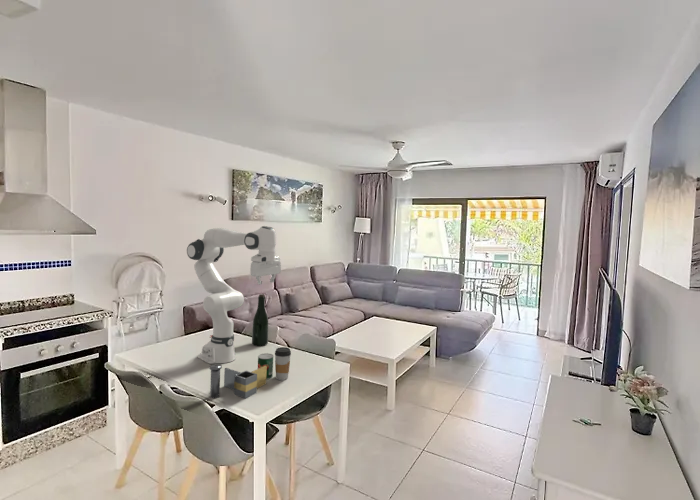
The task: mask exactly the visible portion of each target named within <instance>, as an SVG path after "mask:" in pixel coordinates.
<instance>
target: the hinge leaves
mask: <svg viewBox="0 0 700 500" xmlns="http://www.w3.org/2000/svg"><path fill="white" fill-rule="evenodd" d="M266 373H267V366H264V367H261V368H259V369H258V368H257V369H254V370H253V371H249V370H244V371H242V372H241V371H238V370H234V369H231V368H229V367H225V368H224V375H223V376H224V377H223V387H224V388H228V389H230V390H233V394H234V396H238V397H240V398H243V399H248V398H249V397H251V396H253V395H255V394H257V391H258V390H257V389H259V388H261V387H263V386H264V385H266V384H267V379H266Z"/></svg>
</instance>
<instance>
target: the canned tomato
mask: <svg viewBox="0 0 700 500" xmlns="http://www.w3.org/2000/svg"><path fill="white" fill-rule="evenodd" d="M274 357H275V356H274V354H272V353H268V352H267V353H261V354H260V353H259V355H258V356H257V369H259V368H261V367H264V366H267V373H266V380H269V379H272V378H273V376H274V375H273V373H274Z"/></svg>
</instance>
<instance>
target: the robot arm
mask: <svg viewBox="0 0 700 500" xmlns="http://www.w3.org/2000/svg"><path fill="white" fill-rule="evenodd" d="M276 245H277V233H276V230H275V228H274V227H271V226H265V225H263V226H260V227H259V228H258V229H256V230H254V231H251V232H247V233H246V232H242V231H237V230H233V229H229V228H222V227H215V228H210V229H207V230H206V231H205V232H204V235H203V238H202V239H199V238H198V239H196V240H194V241H192V242H190V243H189V244H188V246H187V248H186V254H187V257H188V258H189V259H190V260H194V261H196V262H195V263H194V271H195V274H196V276H197V278H198V280H199V282H200V283H201V285H202V287H203V288H204V291H206V292H207V293H210V295H208V296H205V297H204V299H203V301H202V308H203V310H204V311H205V313H206V314H208V315H209V316H210V318H211V321H212V330H213V331H212V334H211V335H210V336H209V338H211V339H210V341H209V342H207V343H205V344H204V345H203V346H202V347H201V353H199V354H197V355H196V356H197V358H198V359H199V360H202V361H203V362H205V363H206V364H210V365H214V364H227V363H230V362H233V361H235V360H236V352H235V335H234V325H235V324H234V320H233V319H231V318H230V317H229V316H228V312H229V311H233V310H237V309H238V308H240V307H241V306H243V304H244V302H245V297H244V294H243V293H242V292H241V291H238V290H236V289H235V288H233V287H231V286H230V285H229V284H227V283H226V282H225V280H224V279H223V278H222V276H221V274H220V272H219V271H218V269H217V268H216V266H215V265H214V263H216V262H218V261H219V260H220V258H221V257H222V256H223V254H224V250H225V249H226V248H232V247H238V246H245V248H247V249H248V250H251V251H258V253H257V254H255V255H253V256H251V258H250V261H251V263H250V268H249V269H250V271H249V273H250V276H251V277H255V279H256V281H257V285H262V284H263V281H262V280H261V278H262V276H263V277H264V276H271V278H269V282H270V284H271V283H275V278H276V277H277V275H278V274H281V271H282V263H281V259H280V257H279V256H276V255H277V253H276V251H277V250H276ZM224 248H225V249H224Z"/></svg>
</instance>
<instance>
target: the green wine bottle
mask: <svg viewBox="0 0 700 500" xmlns="http://www.w3.org/2000/svg"><path fill="white" fill-rule="evenodd" d="M265 301H266V296H265V294H262V293H260V294H259V295H258V297H257V307H256V311H255V313H254V316H253V320H252V328H251V331H252V332H251V345H252V346H255V347H265V346H267V345H268V344H269V317H268V314H267V311H266V302H265Z"/></svg>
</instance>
